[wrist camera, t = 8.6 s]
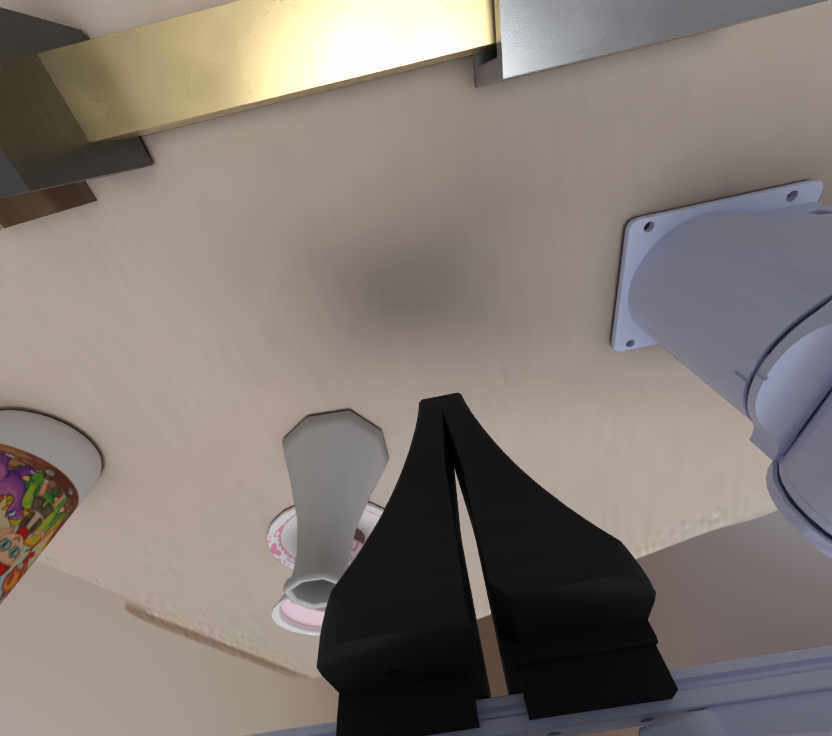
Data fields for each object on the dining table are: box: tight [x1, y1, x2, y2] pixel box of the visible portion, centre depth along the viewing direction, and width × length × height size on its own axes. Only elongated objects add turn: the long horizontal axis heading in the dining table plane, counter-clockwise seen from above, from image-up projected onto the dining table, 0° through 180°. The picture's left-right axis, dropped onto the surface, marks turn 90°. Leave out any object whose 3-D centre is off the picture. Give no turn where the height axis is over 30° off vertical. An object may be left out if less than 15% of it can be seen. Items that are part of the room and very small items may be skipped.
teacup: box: [266, 502, 384, 635], centre depth 31 cm, size 12×12×6 cm
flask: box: [282, 410, 389, 609], centre depth 23 cm, size 7×7×10 cm
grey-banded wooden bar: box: [0, 0, 497, 199], centre depth 12 cm, size 20×4×7 cm, turn 101°
